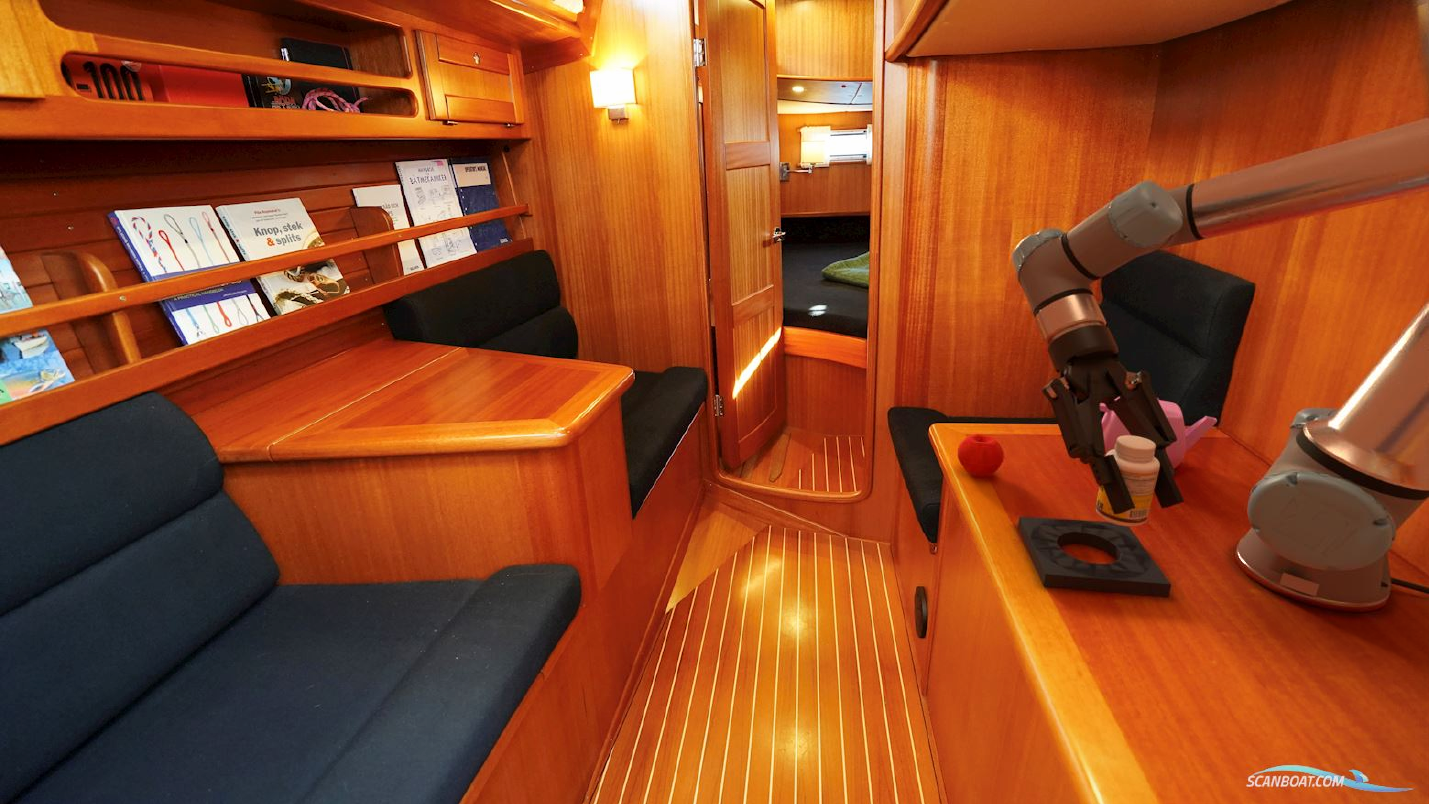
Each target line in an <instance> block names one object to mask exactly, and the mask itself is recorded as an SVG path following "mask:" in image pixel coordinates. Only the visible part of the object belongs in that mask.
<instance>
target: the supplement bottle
mask: <svg viewBox="0 0 1429 804" xmlns="http://www.w3.org/2000/svg"><path fill="white" fill-rule="evenodd" d="M1155 448H1156V445H1155V443H1154V442H1152V441H1151V440H1149V439H1146V438H1143V437H1139V436H1131V435H1125V436H1120V437H1118V438H1117V440H1116V444H1115V449H1113V450H1110V451H1109V452H1108V453H1107V454H1106V456H1107V455H1114V457H1115V460H1116V462H1117V464H1118V467H1119V469H1120V472H1121V474H1122V476H1123V479H1124V481H1125V484H1126V486H1127V488H1128V491H1129V493H1130V496H1131V498H1132V501H1133V503H1134V505H1135V508H1134V509H1131V510H1128V511H1126V512H1123V513H1121V514H1115V515H1114V513H1113V510H1112V508H1111V505H1110V503H1109V500H1108V498H1107V495H1106V493H1105V490H1104V488H1103V486H1099V488H1098V492H1097V498H1096V502H1095V503H1096V504H1095V511H1096V513H1097V514H1098V516H1099V517H1101V519H1103V520H1105V521H1106V522H1111V523H1114V524H1118V525H1122V526H1129V527H1139V526H1141V525H1143V524H1145V523H1147V521H1148V518H1149V514H1150V510H1151V506H1152V501H1153V498H1154V494H1155V492H1154V489H1155V485H1156V480H1157V476H1158V472H1159V468H1160V463H1159V461H1158V460H1157V459H1156V458H1155V457H1154V454H1155Z"/></svg>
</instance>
